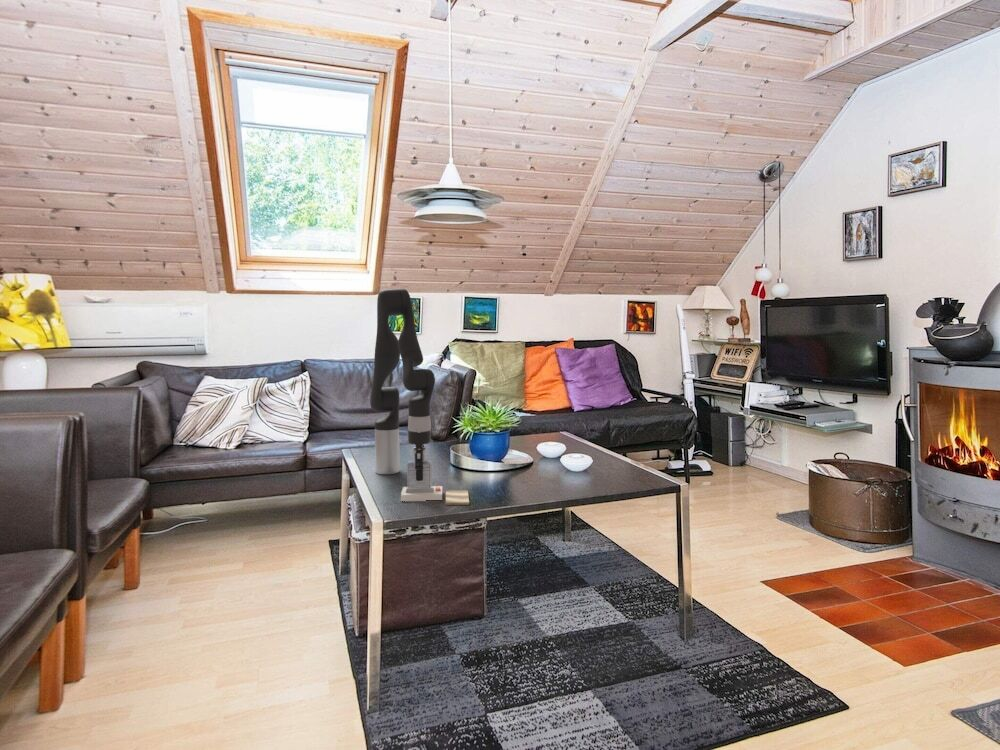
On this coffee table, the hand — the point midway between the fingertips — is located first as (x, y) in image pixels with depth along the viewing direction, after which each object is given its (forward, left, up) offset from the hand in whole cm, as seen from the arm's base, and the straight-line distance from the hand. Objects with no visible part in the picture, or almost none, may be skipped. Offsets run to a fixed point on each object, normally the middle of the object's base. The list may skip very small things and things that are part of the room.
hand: (419, 478), depth 218 cm
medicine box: (0, 0, -3) cm, 3 cm away
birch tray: (+3, +13, -6) cm, 14 cm away
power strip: (-4, +1, -6) cm, 8 cm away
